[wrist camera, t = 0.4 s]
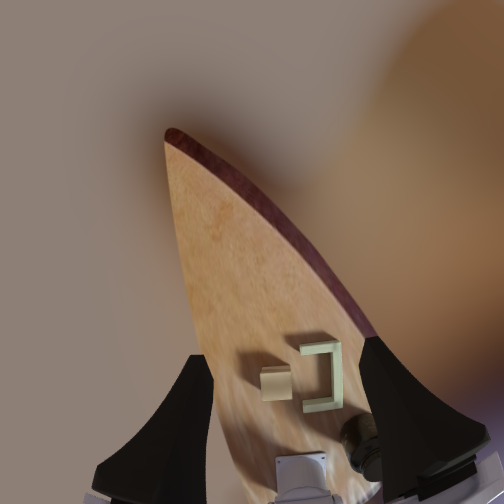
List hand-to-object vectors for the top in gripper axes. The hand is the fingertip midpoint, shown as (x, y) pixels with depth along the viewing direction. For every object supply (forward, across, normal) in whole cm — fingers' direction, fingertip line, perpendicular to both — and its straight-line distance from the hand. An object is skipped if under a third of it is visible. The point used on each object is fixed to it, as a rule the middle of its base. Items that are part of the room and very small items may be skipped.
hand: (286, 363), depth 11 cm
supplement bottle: (+8, -12, +32) cm, 35 cm away
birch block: (+16, +1, +24) cm, 29 cm away
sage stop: (+15, -5, +24) cm, 29 cm away
